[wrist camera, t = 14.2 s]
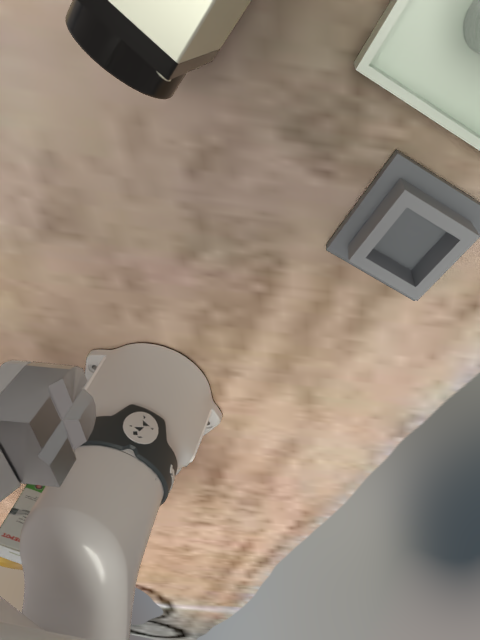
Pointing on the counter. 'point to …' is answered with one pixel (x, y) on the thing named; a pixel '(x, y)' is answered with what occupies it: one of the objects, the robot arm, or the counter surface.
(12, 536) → the ink box
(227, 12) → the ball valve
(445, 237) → the socket block
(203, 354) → the counter surface
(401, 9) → the bin
